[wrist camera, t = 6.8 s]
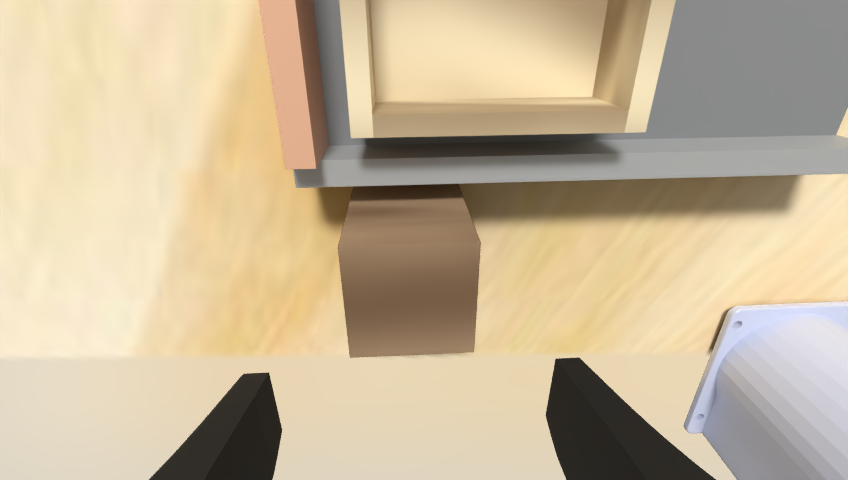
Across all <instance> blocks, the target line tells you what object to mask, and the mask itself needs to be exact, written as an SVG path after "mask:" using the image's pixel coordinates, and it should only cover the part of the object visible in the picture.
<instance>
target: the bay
mask: <svg viewBox="0 0 848 480" xmlns="http://www.w3.org/2000/svg"><path fill="white" fill-rule="evenodd" d="M259 6H260V12H261V18H262V25H263V31H264V37H265V44H266V50H267V56H268V62H269V69H270V75H271V81H272V88H273V94H274V100H275V107H276V113H277V119H278V125H279V132H280V138H281V144H282V151H283V157H284V163H285V169H293V170H294V177H295V184H296V188H309V187H348V186H386V185H425V184H464V183H503V182H541V181H580V180H619V179H657V178H696V177H735V176H774V175H812V174H848V138H845V137H841V136H837V135H836V133H837V131H838V129H839V126H840V124H841V122H842V119H843V117H844V115H845V112H846V110H847V108H848V0H676V2H675V6H674V10H673V15H672V19H671V24H670V28H669V32H668V37H667V41H666V45H665V50H664V54H663V59H662V63H661V67H660V72H659V76H658V80H657V85H656V89H655V94H654V98H653V102H652V107H651V111H650V115H649V120H648V124H647V129H646V132H637V133H588V134H538V135H489V136H439V137H389V138H351V134H350V122H349V110H348V98H347V86H346V74H345V63H344V51H343V39H342V27H341V15H340V3H339V0H259Z"/></svg>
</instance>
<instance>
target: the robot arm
mask: <svg viewBox="0 0 848 480" xmlns="http://www.w3.org/2000/svg"><path fill="white" fill-rule="evenodd" d="M546 418H547V422H548V426H549V429H550V433H551V437H552V440H553V444H554V447H555V451H556V454H557V457H558V460H559V462H560V465H561V467H562V469H563V472H564V475H565V477H566V480H716V479H714V478H713V477H712V476H710V475H709V474H708V473H707V472H705V471H704V470H703V469H702V468H700V467H699V466H698V465H696V464H695V463H694V462H693V461H692V460H690V459H689V458H688V457H687V456H685V455H684V454H683V453H682V452H681V451H680V450H678V449H677V448H676V447H675V446H674V445H672V444H671V443H670V442H669V441H668V440H667V439H665V438H664V437H663V436H662V435H661V434H660V433H659V432H657V431H656V430H655V429H654V428H653V427H652V426H651V425H649V424H648V423H647V422H646V421H645V420H644V419H643V418H642V417H641V416H640V415H638V414H637V413H636V412H635V411H634V410H633V409H632V408H631V407H630V406H629V405H628V404H627V403H625V402H624V400H622V399H621V398H620V397H619V396H618V395H617V394H616V393H615V392H614V391H613V390H612V389H611V388H610V387H609V386H608V385H607V384H606V383H605V382H604V381H603V380H602V379H601V378H600V377H599V376H598V375H597V374H595V372H593V371H592V370H591V369H590V368H589V367H588V366H587V365H586V364H585V363H584V362H583V361H582V360H581V359H580V358H562V359H556V360H555V366H554V371H553V377H552V383H551V388H550V394H549V400H548V405H547V411H546ZM684 427H685V429H686V430H687V432H689V433H703V435H704V436H705V437H706V439H707V440H708V441H709V443H710V444H711V445H712V447H713V448H714V449H715V451H716V452H717V453H718V455H719V456H720V457H721V459H722V460H723V461H724V463H725V464H726V465H727V467H728V468H729V469H730V471H731V472H732V473H733V475H734V476H735V477H736V479H737V480H848V301H841V302H817V303H793V304H769V305H745V306H735V307H733V308H731V309H730V310H729V311H728V313H727V315H726V317H725V320H724V323H723V325H722V328H721V330H720V333H719V335H718V338H717V341H716V343H715V346H714V348H713V351H712V353H711V356H710V359H709V361H708V364H707V366H706V369H705V371H704V374H703V377H702V379H701V382H700V384H699V387H698V390H697V392H696V395H695V397H694V400H693V402H692V405H691V407H690V410H689V413H688V415H687V418H686V420H685V423H684ZM281 433H282V428H281V423H280V419H279V415H278V411H277V406H276V401H275V397H274V393H273V388H272V384H271V380H270V375H269V373H252V374H243V375H242V376H241V377H240V378H239V380H238V381H237V382H236V383H235V384H234V385H233V386H232V388H231V389H230V390H229V391H228V392H227V394H226V395H225V396H224V397H223V398H222V400H221V401H220V402H219V403H218V404H217V405H216V407H215V408H214V409H213V410H212V411H211V412H210V414H209V415H208V416H207V417H206V418H205V420H203V422H202V423H201V424H200V425H199V426H198V428H196V430H195V431H194V432H193V433H192V434H191V435H190V436H189V437H188V438H187V440H186V441H185V442H184V443H183V444H182V445H181V446H180V448H179V449H178V450H177V451H176V452H175V453H174V454H173V455H172V456H171V457H170V458H169V459H168V460H167V462H165V464H164V465H163V466H162V467H161V468H160V469H159V470H158V471H157V472H156V473H155V474H154V475H153V476H152V477H151V478H150V479H149V480H272V478H273V475H274V471H275V465H276V460H277V456H278V450H279V444H280V439H281Z"/></svg>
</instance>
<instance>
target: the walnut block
mask: <svg viewBox="0 0 848 480" xmlns="http://www.w3.org/2000/svg"><path fill="white" fill-rule="evenodd" d="M480 246H481V242H480V239H479V237H478V234H477V232H476V229H475V226H474V224H473V221H472V219H471V216H470V214H469V211H468V209H467V206H466V203H465V201H464V198H463V196H462V193H461V191H460V188H459V185H458V184H425V185H386V186H354V187H353V191H352V194H351V198H350V202H349V206H348V210H347V214H346V217H345V221H344V225H343V229H342V233H341V237H340V240H339V244H338V254H339V263H340V272H341V281H342V290H343V299H344V308H345V317H346V327H347V336H348V345H349V354H350V358H353V357H375V356H398V355H420V354H442V353H464V352H474V344H475V328H476V311H477V295H478V279H479V262H480Z"/></svg>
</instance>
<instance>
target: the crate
mask: <svg viewBox="0 0 848 480" xmlns="http://www.w3.org/2000/svg"><path fill="white" fill-rule="evenodd" d="M675 2H676V0H339V3H340V15H341V27H342V39H343V51H344V63H345V74H346V86H347V98H348V110H349V122H350V134H351V138H389V137H439V136H489V135H538V134H588V133H637V132H646V129H647V124H648V120H649V115H650V111H651V107H652V102H653V98H654V94H655V89H656V85H657V80H658V76H659V72H660V67H661V63H662V59H663V54H664V50H665V45H666V41H667V37H668V32H669V28H670V24H671V19H672V15H673V10H674V6H675Z"/></svg>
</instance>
